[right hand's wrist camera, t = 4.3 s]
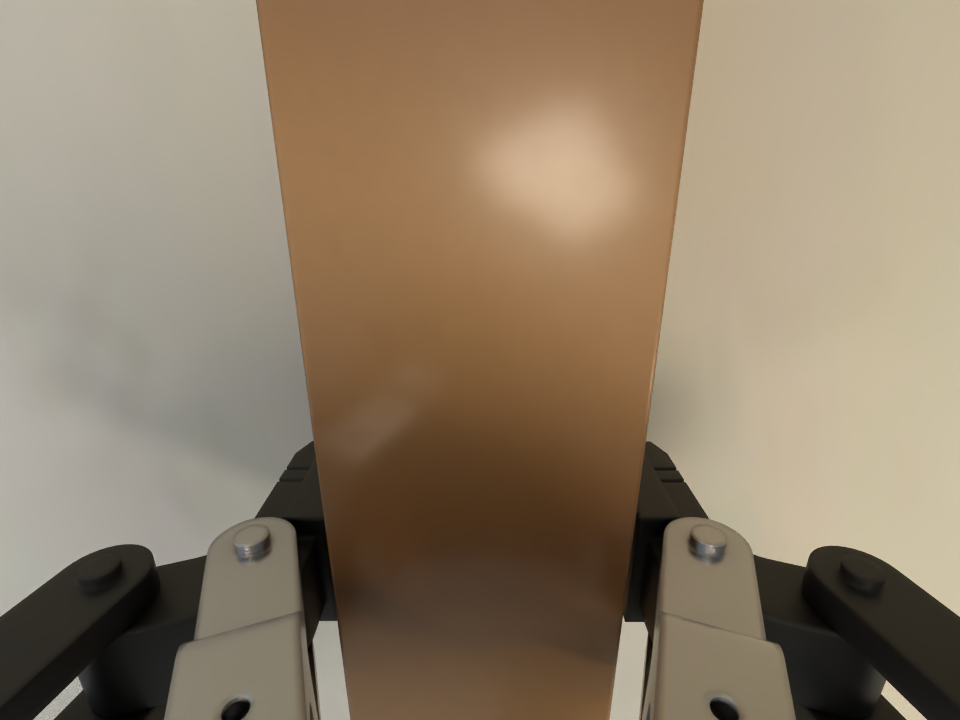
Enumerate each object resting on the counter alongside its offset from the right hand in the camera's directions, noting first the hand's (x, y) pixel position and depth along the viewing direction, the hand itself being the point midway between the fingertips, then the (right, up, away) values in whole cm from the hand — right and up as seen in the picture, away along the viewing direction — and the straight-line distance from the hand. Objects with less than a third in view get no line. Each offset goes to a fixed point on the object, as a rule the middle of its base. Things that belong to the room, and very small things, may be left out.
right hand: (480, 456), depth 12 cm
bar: (0, +25, -7) cm, 26 cm away
